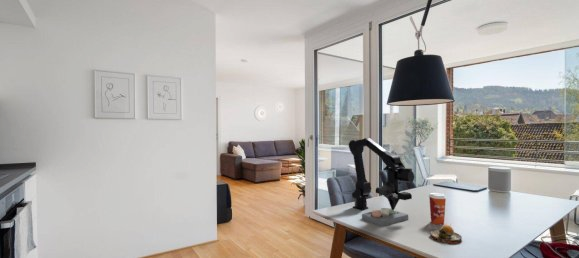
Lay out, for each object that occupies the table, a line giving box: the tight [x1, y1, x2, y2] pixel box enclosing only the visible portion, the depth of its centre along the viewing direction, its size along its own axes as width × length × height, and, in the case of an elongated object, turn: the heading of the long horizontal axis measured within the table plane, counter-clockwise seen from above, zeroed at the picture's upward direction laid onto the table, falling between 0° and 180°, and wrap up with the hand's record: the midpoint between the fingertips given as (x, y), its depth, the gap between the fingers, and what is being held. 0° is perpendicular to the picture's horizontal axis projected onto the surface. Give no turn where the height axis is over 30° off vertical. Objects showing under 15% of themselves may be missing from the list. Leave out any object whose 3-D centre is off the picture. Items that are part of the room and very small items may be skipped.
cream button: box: [380, 207, 390, 216], centre depth 144 cm, size 4×4×4 cm
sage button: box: [389, 207, 398, 214], centre depth 147 cm, size 4×4×4 cm
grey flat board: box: [361, 208, 409, 227], centre depth 144 cm, size 13×19×2 cm
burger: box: [429, 223, 463, 245], centre depth 119 cm, size 12×12×8 cm
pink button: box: [371, 209, 381, 218], centre depth 141 cm, size 4×4×4 cm
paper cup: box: [428, 192, 447, 226], centre depth 138 cm, size 8×8×14 cm
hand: (392, 209), depth 147 cm, fingers closed, pressing on sage button
